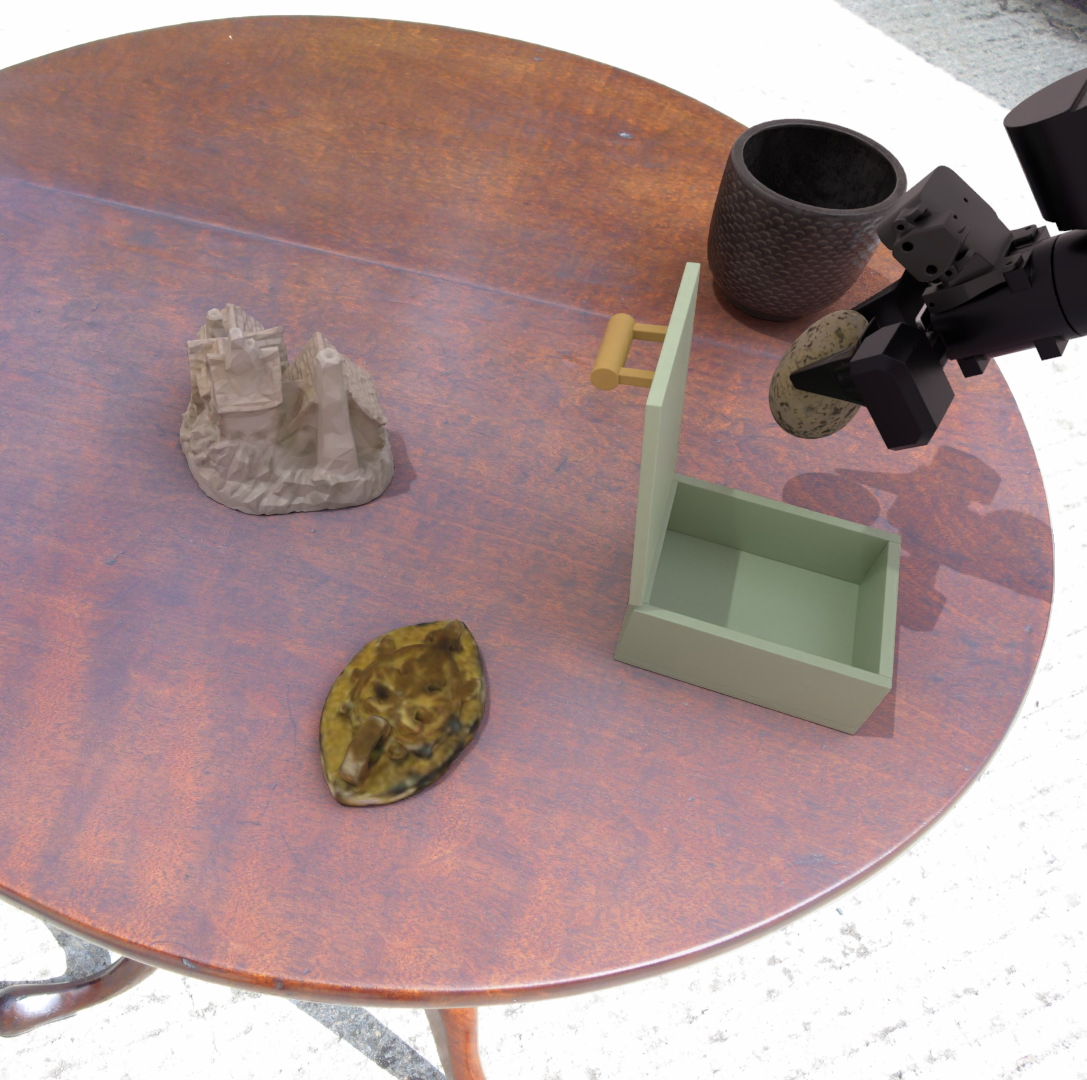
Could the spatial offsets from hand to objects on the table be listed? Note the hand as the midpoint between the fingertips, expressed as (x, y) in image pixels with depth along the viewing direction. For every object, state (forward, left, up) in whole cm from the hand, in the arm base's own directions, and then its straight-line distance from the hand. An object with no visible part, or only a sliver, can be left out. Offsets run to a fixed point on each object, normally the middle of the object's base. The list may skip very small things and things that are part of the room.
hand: (809, 356), depth 70 cm
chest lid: (+9, +12, +1) cm, 15 cm away
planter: (-1, -24, -13) cm, 28 cm away
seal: (+21, +26, -13) cm, 36 cm away
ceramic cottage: (+35, +5, -13) cm, 38 cm away
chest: (0, +13, -13) cm, 18 cm away
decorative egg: (-1, +1, -6) cm, 6 cm away
